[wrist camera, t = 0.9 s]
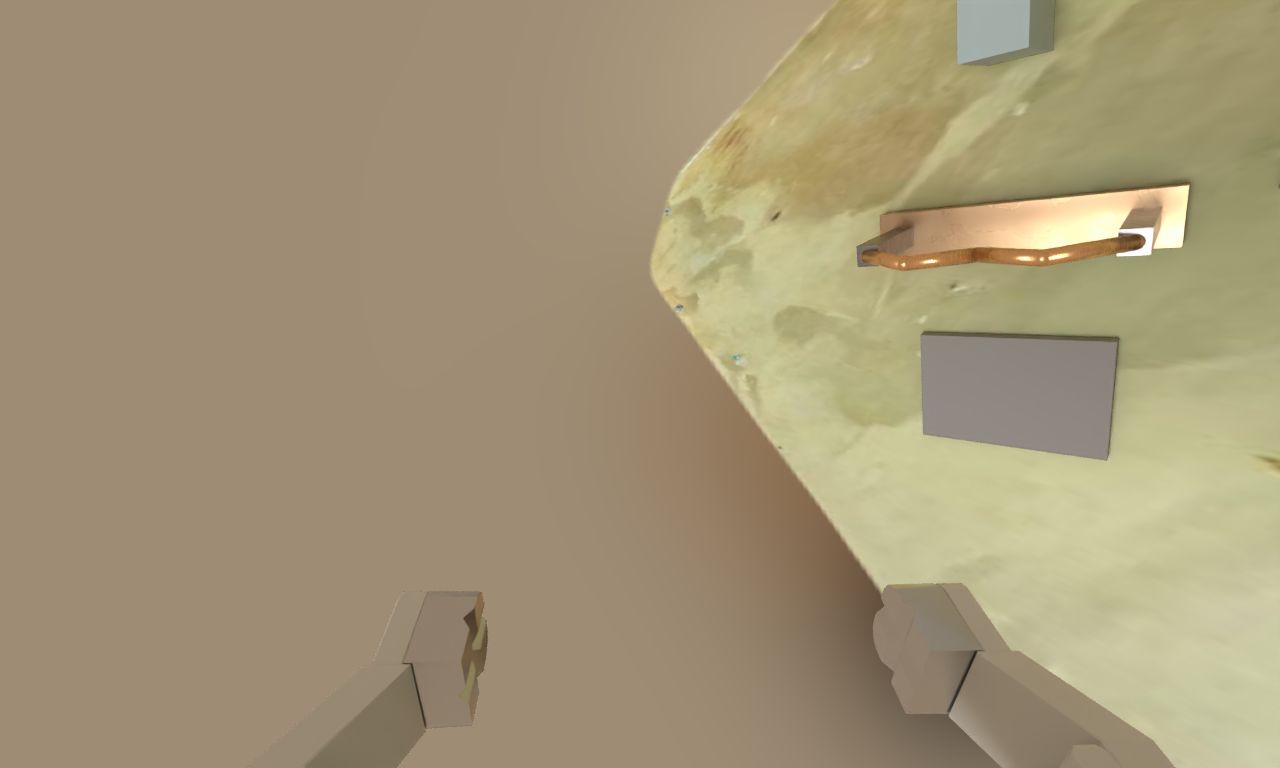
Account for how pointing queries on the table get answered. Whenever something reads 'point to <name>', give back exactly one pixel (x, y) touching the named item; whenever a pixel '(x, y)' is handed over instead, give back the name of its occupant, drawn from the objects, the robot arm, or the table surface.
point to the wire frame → (1032, 230)
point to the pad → (1020, 390)
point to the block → (1003, 30)
